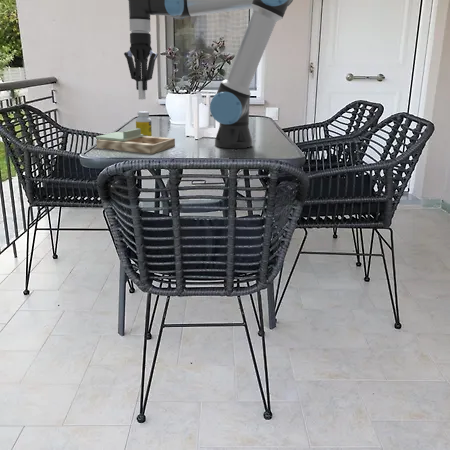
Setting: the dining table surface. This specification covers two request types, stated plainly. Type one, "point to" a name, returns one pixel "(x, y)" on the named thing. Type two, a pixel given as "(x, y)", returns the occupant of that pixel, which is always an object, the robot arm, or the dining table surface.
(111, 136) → the cover
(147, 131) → the pill bottle
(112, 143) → the board
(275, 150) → the dining table surface
